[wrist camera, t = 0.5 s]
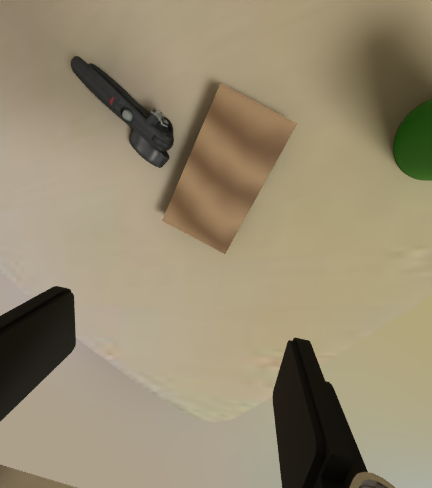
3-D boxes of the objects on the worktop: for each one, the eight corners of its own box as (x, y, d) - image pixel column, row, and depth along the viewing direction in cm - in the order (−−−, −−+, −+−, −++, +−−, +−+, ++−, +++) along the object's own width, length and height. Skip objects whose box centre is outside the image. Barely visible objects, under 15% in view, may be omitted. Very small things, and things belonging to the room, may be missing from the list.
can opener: (190, 138, 34) (179, 131, 29) (161, 173, 36) (146, 172, 31) (101, 45, 32) (71, 19, 27) (76, 88, 34) (44, 71, 29)
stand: (223, 91, 31) (220, 82, 29) (292, 128, 32) (297, 123, 29) (168, 217, 38) (162, 220, 35) (226, 248, 38) (225, 253, 35)
